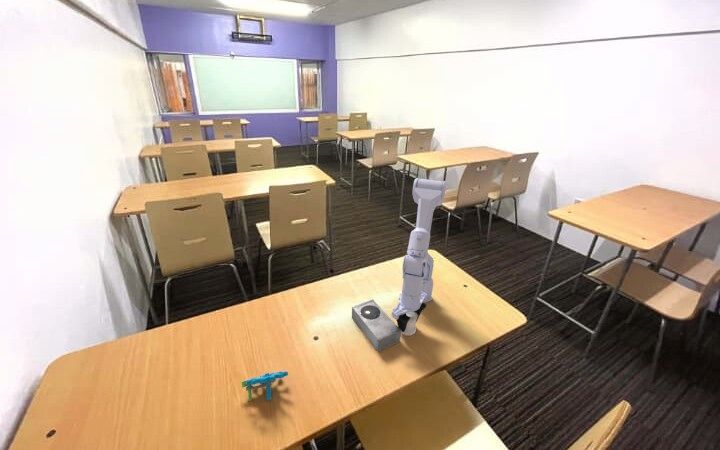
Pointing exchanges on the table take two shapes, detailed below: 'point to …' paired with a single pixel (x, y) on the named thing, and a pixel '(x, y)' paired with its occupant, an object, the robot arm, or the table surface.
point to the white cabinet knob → (410, 324)
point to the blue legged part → (262, 379)
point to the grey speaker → (376, 325)
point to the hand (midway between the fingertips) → (407, 325)
